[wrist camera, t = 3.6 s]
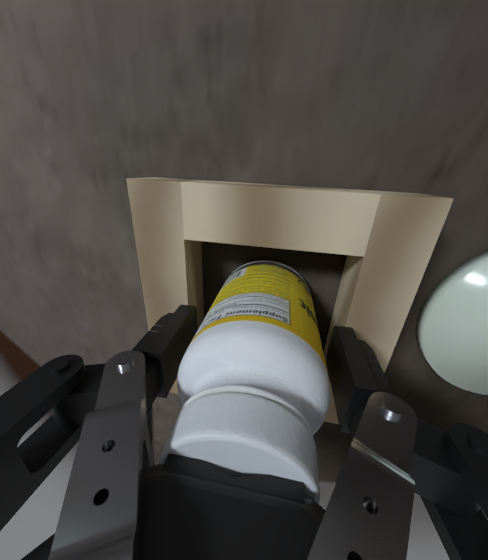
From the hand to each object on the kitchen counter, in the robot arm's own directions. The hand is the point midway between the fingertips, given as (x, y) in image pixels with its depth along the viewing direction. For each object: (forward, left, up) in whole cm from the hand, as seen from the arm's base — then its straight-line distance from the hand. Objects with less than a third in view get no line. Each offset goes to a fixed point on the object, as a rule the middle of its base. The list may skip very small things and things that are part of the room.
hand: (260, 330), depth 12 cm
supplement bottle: (0, 0, -3) cm, 3 cm away
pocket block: (0, 0, -3) cm, 3 cm away
